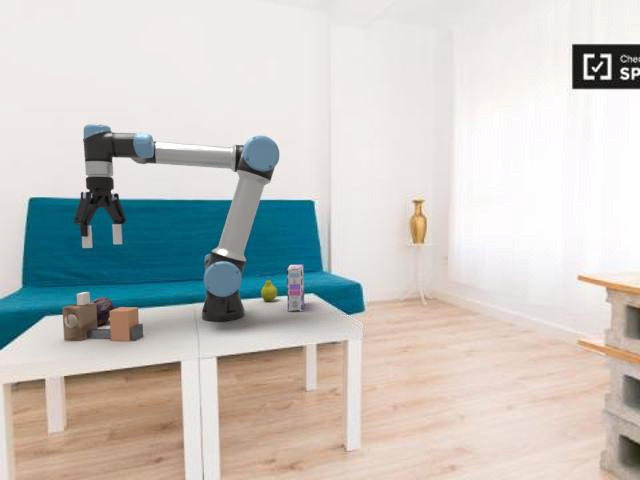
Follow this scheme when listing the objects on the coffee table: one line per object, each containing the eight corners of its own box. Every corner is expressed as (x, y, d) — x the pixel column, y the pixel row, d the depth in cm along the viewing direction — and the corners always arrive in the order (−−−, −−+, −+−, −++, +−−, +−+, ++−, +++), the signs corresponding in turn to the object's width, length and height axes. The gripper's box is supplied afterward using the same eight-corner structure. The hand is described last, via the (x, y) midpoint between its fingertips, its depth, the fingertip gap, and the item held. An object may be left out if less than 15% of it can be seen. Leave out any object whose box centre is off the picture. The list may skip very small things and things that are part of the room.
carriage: (139, 335, 129) (138, 307, 128) (129, 341, 123) (127, 311, 123) (121, 335, 130) (120, 307, 129) (111, 340, 124) (109, 311, 124)
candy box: (303, 311, 156) (302, 268, 155) (287, 312, 156) (286, 268, 155) (304, 303, 170) (303, 263, 169) (290, 304, 170) (289, 264, 169)
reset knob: (90, 303, 129) (89, 292, 129) (83, 305, 126) (82, 294, 126) (84, 303, 130) (83, 292, 129) (77, 305, 127) (76, 294, 126)
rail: (143, 336, 128) (142, 323, 128) (134, 340, 124) (134, 327, 123) (92, 334, 131) (91, 322, 130) (82, 339, 126) (81, 326, 126)
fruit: (279, 299, 179) (278, 271, 179) (275, 302, 173) (275, 274, 172) (263, 299, 180) (262, 272, 179) (259, 302, 173) (258, 274, 172)
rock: (79, 332, 139) (112, 329, 141) (76, 308, 137) (109, 305, 139) (90, 318, 150) (120, 315, 152) (86, 296, 148) (117, 293, 150)
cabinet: (97, 333, 132) (96, 302, 131) (80, 341, 124) (78, 307, 123) (80, 333, 133) (79, 301, 132) (62, 340, 125) (60, 307, 124)
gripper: (115, 180, 140) (118, 242, 141) (56, 173, 115) (61, 249, 116) (135, 179, 138) (138, 242, 140) (80, 172, 114) (84, 249, 115)
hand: (103, 246), depth 128 cm, fingers open, 13 cm apart
